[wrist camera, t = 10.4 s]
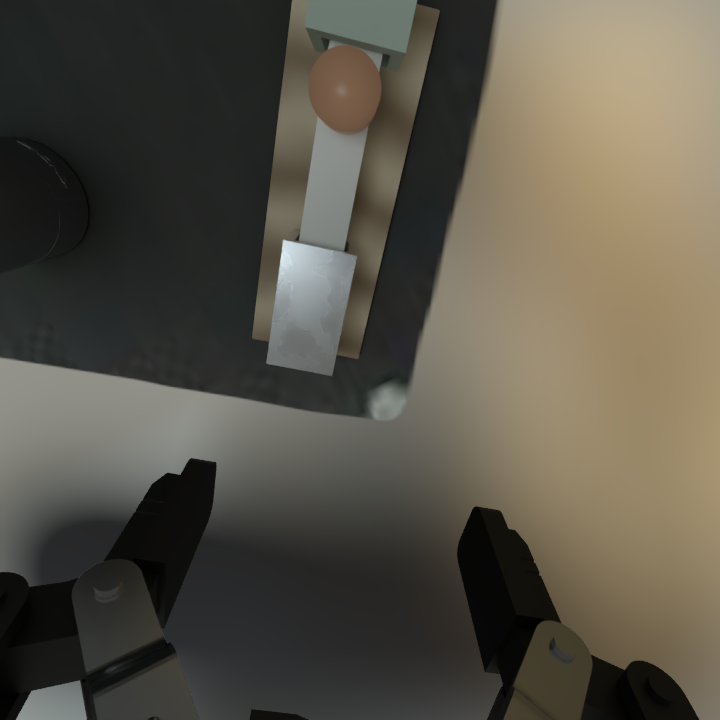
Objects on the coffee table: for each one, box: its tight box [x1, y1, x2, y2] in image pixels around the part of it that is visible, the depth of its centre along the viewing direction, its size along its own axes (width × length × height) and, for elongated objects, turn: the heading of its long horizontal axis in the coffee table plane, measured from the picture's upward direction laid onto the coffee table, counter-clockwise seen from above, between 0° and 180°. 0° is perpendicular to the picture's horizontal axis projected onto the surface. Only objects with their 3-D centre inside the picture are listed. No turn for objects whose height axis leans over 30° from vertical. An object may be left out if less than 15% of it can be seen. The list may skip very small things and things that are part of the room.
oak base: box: [252, 0, 440, 359], centre depth 36 cm, size 27×10×1 cm, turn 168°
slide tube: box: [299, 40, 383, 251], centre depth 29 cm, size 17×4×8 cm, turn 168°
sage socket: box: [305, 0, 417, 72], centre depth 28 cm, size 4×6×6 cm, turn 78°
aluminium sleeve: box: [266, 229, 357, 376], centre depth 36 cm, size 10×5×5 cm, turn 168°
